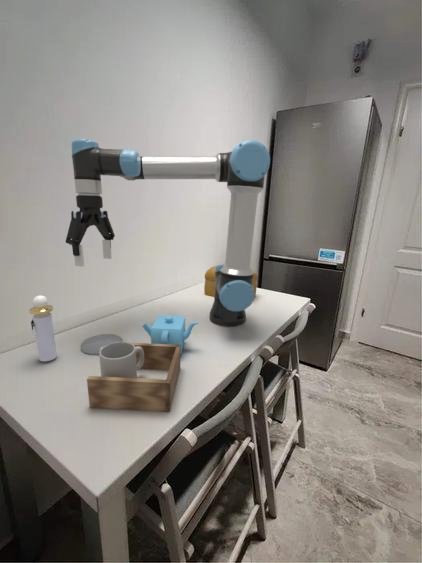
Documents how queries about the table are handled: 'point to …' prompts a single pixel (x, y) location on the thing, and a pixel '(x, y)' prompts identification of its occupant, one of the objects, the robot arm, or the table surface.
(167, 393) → the three-sided wooden frame
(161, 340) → the teapot
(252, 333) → the table surface
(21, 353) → the table surface
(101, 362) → the mug
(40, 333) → the perfume bottle
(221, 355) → the table surface
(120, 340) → the grey saucer
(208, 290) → the bread
